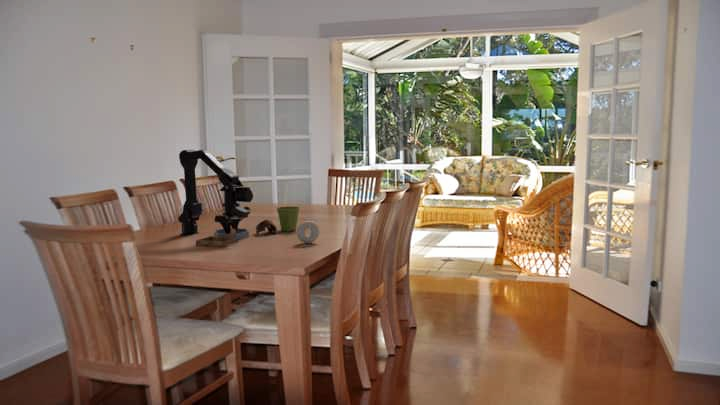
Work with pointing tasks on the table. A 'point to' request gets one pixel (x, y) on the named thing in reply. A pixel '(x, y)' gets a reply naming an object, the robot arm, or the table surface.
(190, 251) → the table surface
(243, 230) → the bowl
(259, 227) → the broken clay ring
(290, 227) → the plant pot
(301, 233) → the donut
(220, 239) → the tray
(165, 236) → the table surface
